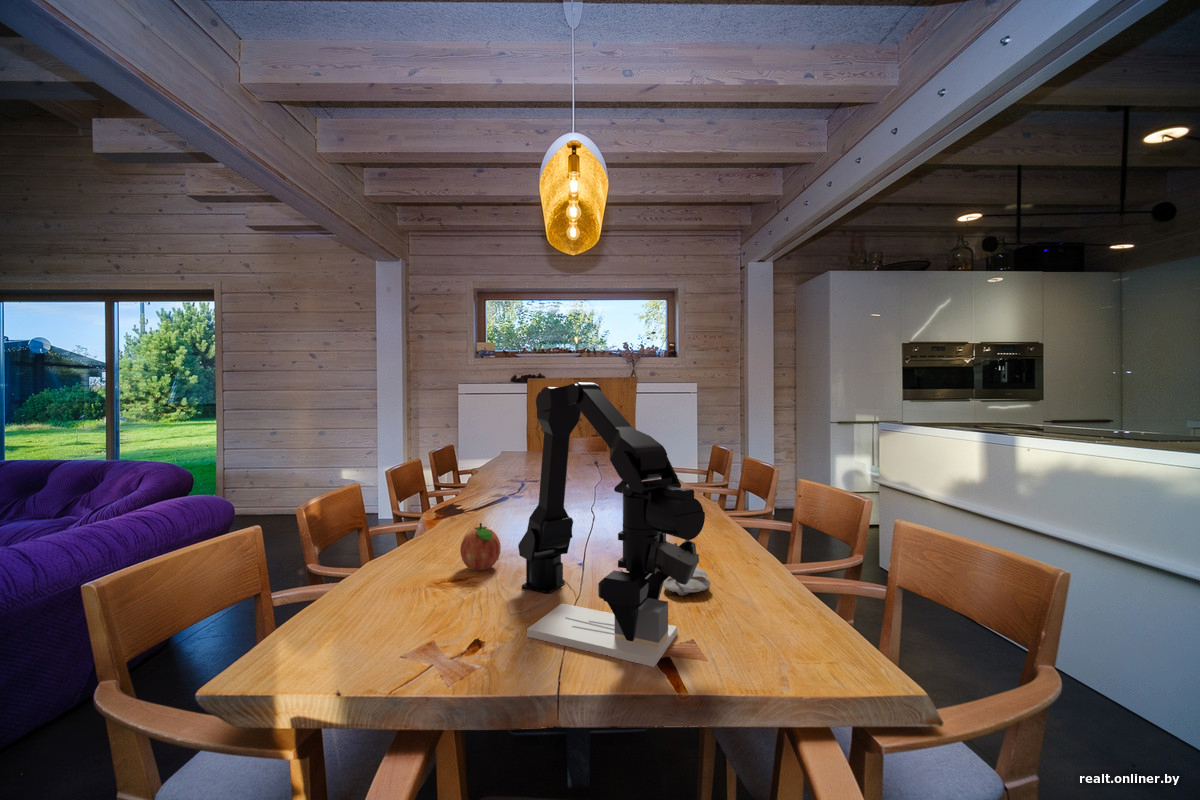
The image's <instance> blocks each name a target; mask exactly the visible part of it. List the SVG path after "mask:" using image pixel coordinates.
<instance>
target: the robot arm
mask: <svg viewBox="0 0 1200 800" xmlns="http://www.w3.org/2000/svg"><path fill="white" fill-rule="evenodd" d="M535 407H536V419H537V421H538V422H539V425H540V426H541V428H542V430H543V441H542V442H543V445H542V455H541V457H542V458H541V468H540V482H539V495H538V496H539V497H538V504H537V506H536V507H535V508H534V510H533V511H532V513H531V515H530V516H529V518H528V525H527V528H526V529H527V530H526V531H525V534H523V537H522V538H521V540H520V541H519V542H518V545H517V546H518V554H519V556H520V557H521V558H523V559H525V560H526V561H525V562H526V563H525V565H526V566H525V568H526V570H525V572H526V573H525V575H526V577H525V579H526V581H525V583H523V584H522V585H521V589H525V590H531V591H536V592H539V593H540V592H541V593H546V594H551V593H552V592H554V591H555V590H556V589H558V588H560V587H561V586H563V585H564V584H565V583H566V580H565V579H564V563H563V562H562V555H567V554H568V553H569V548H570V543H571V539H573V525H574V520H573V518H572V517H570V516H569V514H568V512H567V511H566V508H565V497H566V485H567V476H568V475H567V472H568V462H569V461H568V460H569V451H570V449H569V448H570V439H571V437H570V436H571V434H572V432H573V431H574V429H575V428H576V427H577V426H578V424H579V422H580V419H581V414H582V415H583V416H584V418H586V420H587V421H588V423H589V424H590V425H591V426H592V427H593V429H594V430H595V431H596V432H597V434H598V435H599V436H600V437H601V439H603V440H602V441H604V442H605V444H606V445H607V447H608V448H609V460H610V462H611V464H612V466H613V468H614V469H615V471H616V473H617V475H618V476H619V478H620V479H621V481H620V482H619V483H618V484H617V485H616V486H615V487H614V488H613V490H614V492H616V493H617V494H622V530H621V531H619V532H618V533H617V541H622V557H621V558H619V559H618V560H617V568H620V569H625V570H626V571H621V570H613V571H611V572H610V573H609V574H607V575H606V576H605V577H603V578H602V579H601V580H600V581H599V582H598V585H597V587H598V595H597V596H598V598H599V599H600V600H601V599H602V601H603V602H606V603H607V605H608V606H609V608H610V610H611V611H612V612H611V613H613V614H614V615H615V617H616V619H617V621H618V624H619V626H620V628H621V630H622V632H623V634H624V636H625V638H626V640H627V641H633V640H634V637H635V632H636V625H637V618H638V610H639V607H640V606H641V605H642V604H643V603H644V602H645V601H646V600H647V599H648V598H651V599H657V600H660V596H661V594H662V589H663V587H664V586H663V583H664V582H665V580H666V579H667V578H668V577H669V576H670V577H671V578H673V579H675V580H676V582H678V583H680V584H684V585H685V584H687V583H688V581H689V580H690V579H691V578H692V577H693V574H694V571H695V569H696V568H697V567H698V566H697V565H698V564H699V562H700V557H699V556H700V554H699V553H697V544H696V543H695V542H694V541H692V540H694V539H696V538H697V537H698V536H699V535H700V534H701V532H702V530H703V528H704V524H705V520H706V518H705V517H706V513H705V511H704V508H703V507H704V506H703V505H702V503H701V501H699V500H698V499H697V498H696V497H695V490H694V489H693V488H689V487H687V488H686V487H685V488H682V484H681V481H680V479H679V478H678V474H676V471H675V470H674V467H673V465H672V463H671V461H670V460H669V457H668V453H667V451H666V449H665V447H664V446H663V445H662V444H661V443H660V442H658V440H656V439H654V438H653V437H652V436H651V435H649V434H647V433H645V432H642V431H640V430H637V429H636V428H634V426H632V425H631V424H630V423H629V421H628V420H627V419H626V418H625V417H624V416H623V415H622V414H621V412H620V411H619V410H618V409H617V408H616V407H615V405H613V403H612V402H611V401H610V400H609V398H607V396H606V395H605V394H604V393H603V392H602V389H601V387H600V385H599V384H598V383H595V382H581V381H580V382H578V381H575V382H574V383H570V384H568V385H564V386H557V387H555V386H545V387H543V388H542V389H541V391H539V392H538V393H537V395H536V399H535ZM667 535H668V536H671V537H675V538H679V539H682V540H684V541H683V542H682V543H681V544H679V545H678V543H676V542H674V543H671V542H669V541H667Z"/></svg>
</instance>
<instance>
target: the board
mask: <svg viewBox="0 0 1200 800" xmlns="http://www.w3.org/2000/svg"><path fill="white" fill-rule="evenodd" d="M526 635H527V638H530V639H531V638H532V639H534V640H535V639H536V640H540V641H545V642H549V643H552V644H557V645H559V646H560V645H561V646H564V647H569V648H572V649H577V650H582V651H586V652H589V651H590V652H591V653H594V654H599V655H602V654H603V655H602V656H606V655H608V656H607V657H610V656H611V658H614V657H615V659H620V660H623V661H628V662H632V663H636V664H640V665H645V666H647V667H653V668H655V667H656V666H657V664H658V662H659V661H660V659H661V658H662V656H664V654H665V653H666V650H667V649H668V648H669V646H670V645H671V643H672V642H673V641H674V640H675V638H676V636H677V635H678V626H676V625H673V624H668V635H667V636H666V638H665V639H664V640H663V642H662V643H661V645H660V646H659V647H656V646H651V645H647V644H642V643H638V642H633V641H627V640H624V639H620V638H615V615H614V613H613V612H608V611H602V610H597V609H593V608H588V607H582V606H577V605H572V604H567V603H561V604H559V605H557V606H556V607H555V608H554V609H552V610H551V611H549V612H548V613H547V614H545V615H544V616H543V617H541V618H540V619H538V621H536V622H535V623H533V624H532V625H530V626H529V627H527V629H526Z"/></svg>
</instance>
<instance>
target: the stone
mask: <svg viewBox="0 0 1200 800" xmlns="http://www.w3.org/2000/svg"><path fill="white" fill-rule="evenodd" d="M710 586H711V581H710V579H709V577H708V574H707V572H706V571H705V570H703V569H701V568H698V567H696V569H695V571H694V574H693V577H692V578H691V579H690V580H689V581H688V583H687V584H685V585H684V584H680V583H678V582H676V580H675V579H673V578H671V577H670V576H669V577H668V578H667V579H666V580H665V581H664V583H663V586H662V587H663V588H664V589H665V590H666V591H669V592H670V591H671V592H674V593H677V594H678V596H687V595H689V594H690V593H699V592H703V591H705V590H707V589H708V588H709V587H710Z"/></svg>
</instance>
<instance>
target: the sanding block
mask: <svg viewBox="0 0 1200 800" xmlns="http://www.w3.org/2000/svg"><path fill="white" fill-rule="evenodd" d="M668 625H669V601H668V600H663V599H659V600H657V599H651V598H648V599H647V600H646V601H645V602H644V603H643V604H642V605H641V606H640V607H639V610H638V618H637V625H636V632H635V637H634V640H633V642H638V643H642V644H647V645H651V646H656V647H659V646H660V645H661V643H662V642H663V640H664V639H665V638H666V636H667V635H668ZM615 638H620V639H624V640H626V638H625V636H624V634H623V632H622V630H621V628H620V626H619V624H618V621H617V619H616V617H615Z"/></svg>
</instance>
